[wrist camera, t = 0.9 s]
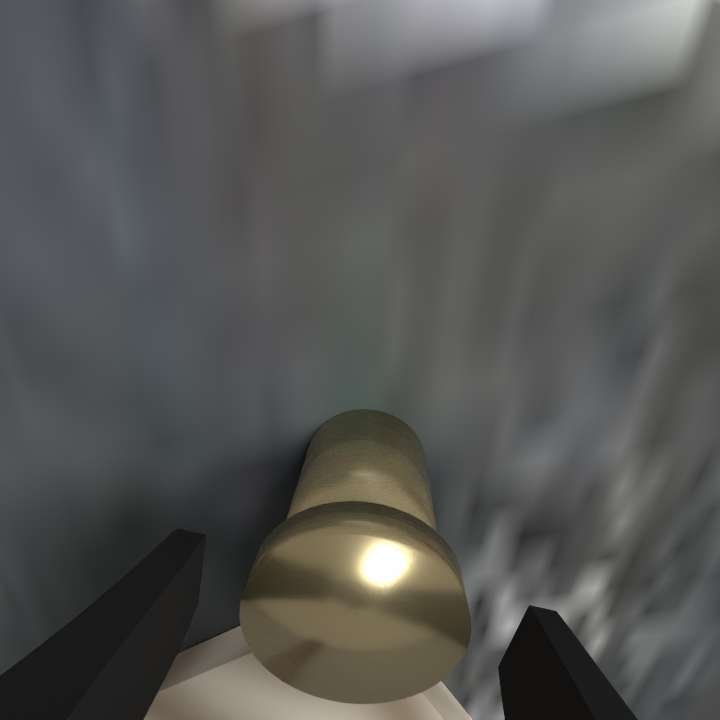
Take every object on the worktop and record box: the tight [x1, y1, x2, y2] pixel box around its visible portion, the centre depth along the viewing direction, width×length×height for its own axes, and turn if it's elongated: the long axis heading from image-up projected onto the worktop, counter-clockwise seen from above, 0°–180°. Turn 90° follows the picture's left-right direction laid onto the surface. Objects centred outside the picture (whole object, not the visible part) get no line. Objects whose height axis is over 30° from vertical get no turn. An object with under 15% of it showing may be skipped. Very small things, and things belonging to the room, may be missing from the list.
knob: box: [239, 409, 471, 704], centre depth 12 cm, size 5×5×6 cm
